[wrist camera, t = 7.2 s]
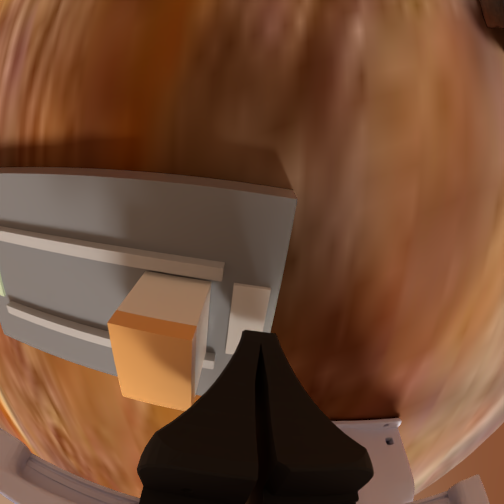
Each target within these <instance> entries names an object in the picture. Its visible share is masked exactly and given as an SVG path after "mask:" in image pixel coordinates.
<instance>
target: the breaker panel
mask: <svg viewBox="0 0 504 504" xmlns="http://www.w3.org/2000/svg"><path fill="white" fill-rule="evenodd" d="M296 205H297V197H296V195H295V193H294V191H293V190H290V189H284V188H278V187H271V186H265V185H258V184H251V183H244V182H237V181H229V180H221V179H213V178H205V177H196V176H186V175H176V174H166V173H155V172H142V171H129V170H113V169H95V168H68V167H0V323H1V326H2V329H3V331H4V334H5V335H7V336H10V337H12V338H14V339H16V340H18V341H20V342H23V343H25V344H27V345H30V346H32V347H34V348H37V349H39V350H42V351H44V352H47V353H49V354H52V355H54V356H57V357H60V358H62V359H65V360H68V361H71V362H73V363H76V364H79V365H82V366H85V367H88V368H91V369H94V370H98V371H101V372H104V373H107V374H111V375H114V376H118V375H117V371H116V366H115V362H114V357H113V352H112V347H111V341H110V336H109V330H108V324H107V322H108V321H109V320H110V318H111V317H112V315H113V314H114V313H115V311H116V310H117V308H118V307H119V306H120V304H121V303H122V302H123V300H124V299H125V298H126V296H127V295H128V294H129V292H130V291H131V290H132V288H133V287H134V286H135V284H136V283H137V282H138V280H139V279H140V278H141V277H142V275H143V274H144V273H145V271H149V272H155V273H161V274H167V275H173V276H179V277H185V278H192V279H198V280H204V281H211V292H210V304H209V317H208V331H207V345H206V353H205V357H204V361H203V365H202V369H201V374H200V378H199V382H198V386H197V390H196V395H203V394H204V393H205V392H206V391H207V390H208V389H209V388H210V387H211V386H212V384H213V383H214V382H215V381H216V379H217V378H218V377H219V376H220V374H221V373H222V371H223V370H224V368H225V367H226V365H227V364H228V362H229V361H230V359H231V357H232V356H233V354H234V352H235V350H236V348H237V346H238V344H239V341H240V339H241V335H242V331H244V330H251V331H259V332H267V333H270V332H271V327H272V323H273V318H274V314H275V309H276V305H277V300H278V295H279V291H280V286H281V281H282V276H283V271H284V267H285V262H286V257H287V252H288V247H289V242H290V236H291V231H292V226H293V221H294V216H295V210H296Z"/></svg>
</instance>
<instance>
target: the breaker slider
mask: <svg viewBox="0 0 504 504" xmlns="http://www.w3.org/2000/svg"><path fill="white" fill-rule="evenodd" d="M210 292H211V281H204V280H198V279H192V278H185V277H179V276H173V275H167V274H161V273H155V272H149V271H145V273H144V274H143V275H142V277H141V278H140V279H139V280H138V282H137V283H136V284H135V286H134V287H133V288H132V290H131V291H130V292H129V294H128V295H127V296H126V298H125V299H124V300H123V302H122V303H121V304H120V306H119V307H118V308H117V310H116V311H115V313H114V314H113V315H112V317H111V318H110V320H109V321H108V322H107V324H108V330H109V336H110V341H111V347H112V352H113V357H114V362H115V366H116V371H117V375H118V380H119V384H120V388H121V392H122V396H124V397H128V398H131V399H135V400H139V401H143V402H147V403H151V404H155V405H159V406H163V407H168V408H173V409H177V410H182V411H186V410H187V409H188V408H190V407H191V406H192V405H193V403H194V399H195V394H196V390H197V386H198V382H199V378H200V374H201V369H202V365H203V361H204V357H205V353H206V345H207V331H208V317H209V304H210Z"/></svg>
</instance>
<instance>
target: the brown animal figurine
mask: <svg viewBox="0 0 504 504" xmlns="http://www.w3.org/2000/svg"><path fill="white" fill-rule="evenodd" d="M480 4H481V8H482V11H483V15H484V18H485V22H486V25H487V26H488V27H490V28H496V27H500V28H502V29H504V0H480Z"/></svg>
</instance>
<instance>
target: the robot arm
mask: <svg viewBox="0 0 504 504" xmlns="http://www.w3.org/2000/svg"><path fill="white" fill-rule="evenodd" d="M400 424H401V419H400V418H391V419H378V420H359V421H331V420H330V419H329V418H328V417H327V416H326V415H325V414H324V413H323V412H322V411H321V410H320V409H319V408H318V406H317V405H316V404H315V403H314V402H313V400H312V399H311V398H310V396H309V395H308V394H307V392H306V391H305V390H304V388H303V387H302V385H301V384H300V382H299V380H298V379H297V377H296V375H295V374H294V372H293V370H292V368H291V366H290V365H289V363H288V361H287V359H286V357H285V355H284V352H283V350H282V348H281V346H280V343H279V340H278V338H277V335H276V334H275V333H267V332H259V331H251V330H244V331H242V335H241V339H240V341H239V344H238V346H237V348H236V350H235V352H234V354H233V356H232V357H231V359H230V361H229V362H228V364H227V365H226V367H225V368H224V370H223V371H222V373H221V374H220V376H219V377H218V378H217V379H216V381H215V382H214V383H213V384H212V386H211V387H210V388H209V389H208V390H207V391H206V392H205V393H204V394H203V395H202V396H201V397H200V398H199V399H198V400H197V401H196V402H195V403H194V404H193V405H192V406H191V407H190V408H188V409H187V410H186V411H185V412H184V413H182V414H181V415H180V416H179V417H177V418H176V419H175V420H173V421H172V422H170V423H169V424H167V425H166V426H164V427H163V428H161V429H160V430H158V431H157V432H155V434H154V435H153V437H152V438H151V439H150V441H149V442H148V444H147V445H146V447H145V449H144V451H143V453H142V455H141V458H140V461H139V464H138V467H137V473H138V475H139V477H140V479H141V482H142V484H143V490H142V494H141V497H140V498H137V497H134V496H130V495H127V494H124V493H121V492H118V491H115V490H112V489H109V488H106V487H104V486H101V485H98V484H96V483H93V482H91V481H88V480H86V479H83V478H81V477H79V476H76V475H74V474H72V473H70V472H67V471H65V470H63V469H61V468H59V467H57V466H55V465H53V464H51V463H49V462H47V461H45V460H43V459H41V458H39V457H38V456H36V455H34V454H32V453H31V452H30V450H29V449H28V447H27V446H26V445H25V444H24V443H22V442H21V441H20V440H18V439H17V438H15V437H14V436H12V435H11V434H9V433H7V432H6V431H4V430H3V429H1V428H0V493H1V494H2V495H3V496H5V497H6V498H7V499H9V500H10V501H12V502H13V503H15V504H490V503H489V500H488V497H487V495H486V492H485V489H484V486H483V484H482V481H481V478H480V476H479V475H478V474H477V475H475V476H472V477H470V478H467V479H465V480H462V481H460V482H458V483H457V484H455V485H453V486H452V487H451V488H450V489H449V490H448V491H445V492H442V493H439V494H436V495H433V496H430V497H427V498H424V499H420V500H416V501H413V498H414V479H413V475H412V472H411V469H410V465H409V462H408V459H407V455H406V452H405V449H404V446H403V443H402V440H401V437H400V434H399V431H398V426H399V425H400Z"/></svg>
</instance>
